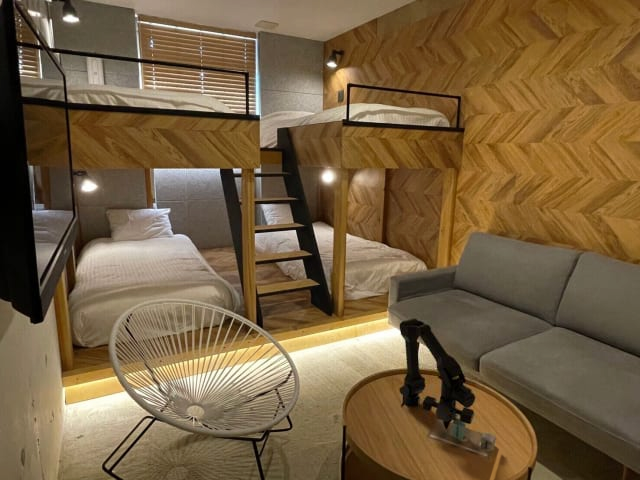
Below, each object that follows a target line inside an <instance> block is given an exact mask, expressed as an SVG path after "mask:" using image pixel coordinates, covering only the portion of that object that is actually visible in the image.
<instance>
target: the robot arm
mask: <svg viewBox="0 0 640 480" xmlns="http://www.w3.org/2000/svg"><path fill="white" fill-rule="evenodd" d="M399 331H400V336H401V337H402V338H403V339H404V344H405V355H406V357H405V358H406V371H407V373H406V375H405V377H404V381H403V385H402V386H401V387H399V393H400V395H402V403H401V405H400V407H402V408H403V407H404V405H405V406H408V407H410V408H411V407H413V408H414V407H415V408H418V407H419V406H420V404H421V408H422V409H423V410H426V411H428V412H430V411H431V410H432V409H433V408H435V409H436V410H435V419H439V420H442V421H443V423H444V426H445V428H446V429H447V428H448V426H449V424H450V423H452V422H453V421H454V420H456V418H458V417H459V419H460V420H461V421H462V422H464V423H466V425H467V424H468V425H470V424H472V422H473V420H474V417H475V411H474V409H471V408H470V407H472V406H473V404H475V401H476V395H475V393H473V392H472V391H473V390H472V389H471V388H469V387H467V386H466V385H465V384H466V383H467V380H466V375H465V374H464V373H463V369H462V367H461V365H460V364H459V363H458V361H457V360H456V359H455V358H454V357H452V356H451V355H449V354H448V353H447V351H446V350H445V349H444V347H443V346H442V344H441V342H439V339H438V338H437V337H436V335H435V334H434V332H433V331H432V327H431V326H430V325H429V324H427V323H425V322H424V321H422V320H418V319H417V318H414V317H413V318H409V319H406V320H403V321H401V322H400V323H399ZM419 337H420V339H421V340H422V341H423V343H424V345H425V346H426V347H427V349H428V351H429V353H430V354H431V355H432V357H433V359H434V360H435V362H436V369H437V371H438V373H439V375H438V376H437V378H438V379H439V380H440V381H441V383H440V384H441V386H440V387H441V389H440V397H439V402H437V398H436V397H432V396H429V395H427V396H425V398H424V400H423V401H422V403H421V396H420V394H421V393H423V391H424V390H425V388H426V379H425V377H423V376H422V374H421V373H420V363H419V350H418V349H419V348H418V346H419V345H418V340H419ZM457 377H458V378H457ZM454 378H456V379H454ZM457 403H458V404H460V405H461V406H463V407H462V410H461V409H460V408H459V407H457Z"/></svg>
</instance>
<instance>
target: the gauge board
mask: <svg viewBox="0 0 640 480" xmlns="http://www.w3.org/2000/svg"><path fill="white" fill-rule="evenodd" d="M452 425H453V422H450V424H449V426H448V428H447V429H446V428H445V426H444V423H443V421H442V420H439V419H437V418H435V421H434V422H433V425H432V427H431V428H430V430H429V432H428V434H427V435H426V438H428V439H432V440H434V441H437V442H440V443H442V444H445V445H448V446H450V447H453V448H456V449H458V450H461V451H465V452H467V453H470V454H473V455H476V456H477V457H478V456H479V457H482V458H484V459H487V460H490V457H491V455H492V452H493V451H495V448H496V446H495V443H496V439H497V437H495V435H493V434H490V433H487V432H480V431H477V430H474V429H470V428H468V427H465V435H464V437H463V440H460V439H458V438H455V437H452Z"/></svg>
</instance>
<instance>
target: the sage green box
mask: <svg viewBox="0 0 640 480" xmlns="http://www.w3.org/2000/svg"><path fill="white" fill-rule="evenodd" d="M452 423H453V425H452V437H455V438H458V439H460V440H463V437H464V435H465V428H467V427H466V425H467V423H464V422H462V421H461V420H460V417H457V418H456V420H452Z"/></svg>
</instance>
